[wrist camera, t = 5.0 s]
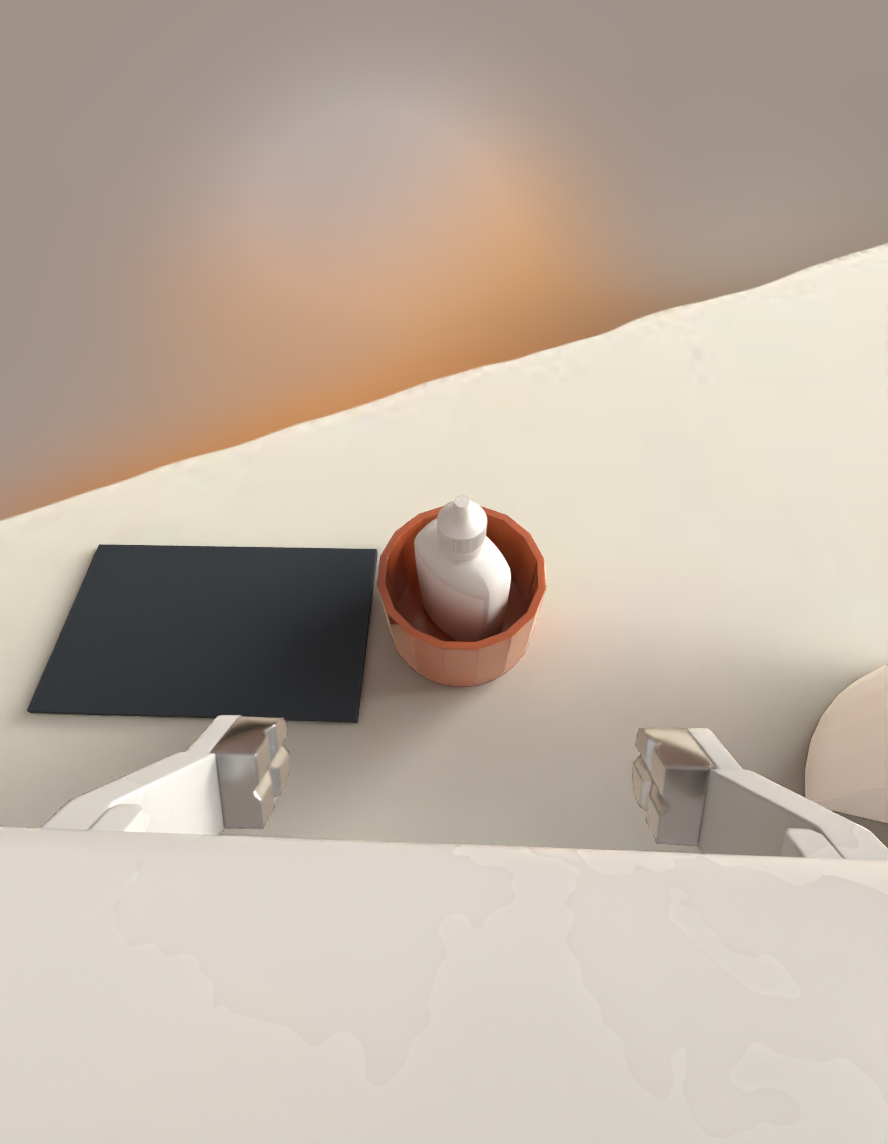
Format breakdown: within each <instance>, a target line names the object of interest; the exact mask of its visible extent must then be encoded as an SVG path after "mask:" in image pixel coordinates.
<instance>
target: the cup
mask: <svg viewBox="0 0 888 1144" xmlns="http://www.w3.org/2000/svg"><path fill="white" fill-rule="evenodd" d="M443 507H444V506H443ZM443 507H440V508H436V509H433V510H430V511H427V512H424V513H420V514H418V515H417V516H415V517H414V518H413V519H411V520H410V521H409V522H407V523H406V524H405V525H403V526H402V527H401V528H400V529H398V530H397V531H396V532H395V533H394V535H393V536H392V538H391V540H390V541H389V543H388V545H387V546H386V548H385V549H384V551H383V553H382V554H381V557H380V563H379V572H378V581H377V586H378V590H379V593H380V597H381V601H382V604H383V608H384V612H385V615H386V619H387V623H388V626H389V629H390V632H391V635H392V638H393V641H394V644H395V646H396V649H397V652H398V653H399V654H400V655H401V657H402V658H403V659H404V660H405V662H406V663H407V664H408V665H409V666H410V667H411V668H412V669H413V670H415V671H416V672H417V673H419V674H420V675H422V676H424V677H426V678H427V679H429V680H432V681H434V682H437V683H440V684H444V685H449V686H458V687H463V686H474V685H480V684H483V683H486V682H489V681H492V680H494V679H496V678H498V677H500V676H501V675H503V674H505V673H506V672H507V671H509V670H510V669H511V668H512V667H513V666H514V665H515V664H516V663H517V662H518V661H519V660H520V658H521V657H522V656H523V655H524V653H525V651H526V649H527V646H528V644H529V641H530V639H531V636H532V634H533V631H534V628H535V624H536V621H537V618H538V614H539V611H540V608H541V604H542V601H543V597H544V594H545V591H546V576H545V562H544V558H543V556H542V554H541V552H540V551H539V549H538V547H537V545H536V543H535V542H534V540H533V538H532V536H531V534H530V533H529V532H527V531H526V530H525V529H524V528H522V527H521V526H520V525H519V524H517V523H516V522H515V521H514V520H512V519H511V518H510V517H509V516H507V515H505V514H502V513H499V512H496V511H493V510H490V509H487V508H484V507H481V506H480V507H481V508H482V509H483V510H484V512H485V514H486V517H487V530H486V537H488V538H489V539H490V540H491V541H492V542H493V543H494V545H495V546H496V547H497V548H498V550H499V551H500V552H501V554H502V555H503V557H504V558H505V560H506V562H507V564H508V566H509V568H510V573H511V582H510V590H509V596H508V602H507V608H506V614H505V620H504V626H503V629H502V631H501V633H500V634H497V635H495V636H492V637H489V638H486V639H483V640H481V641H478V642H457V641H455V640H454V639H452V638H450V637H449V636H448V635H446V634H445V633H444V632H442V631H441V630H440V629H439V628H438V627H437V626H436V625H435V624H434V622H433V621H432V620H431V618H430V617H429V616H428V614H427V612H426V611H425V609H424V607H423V605H422V602H421V597H420V590H419V582H418V575H417V567H416V559H415V548H414V541H415V538H416V536H417V534H418V533H419V532H420V531H421V530H422V529H423V528H424V527H425V526H426V525H427V524H429V523H430V522H431V521H433V520H435V519H437V516H438V514H439V512H440V510H441V509H442V508H443Z"/></svg>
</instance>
